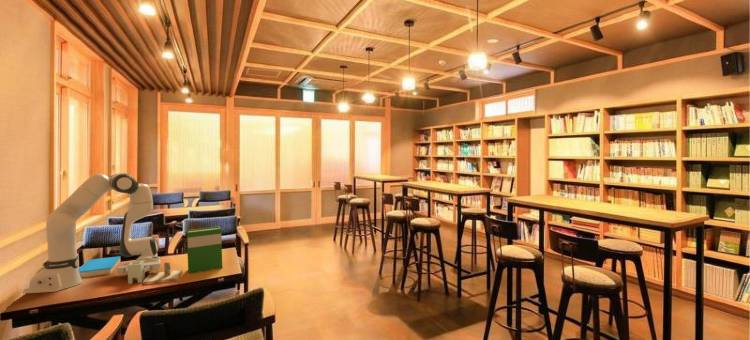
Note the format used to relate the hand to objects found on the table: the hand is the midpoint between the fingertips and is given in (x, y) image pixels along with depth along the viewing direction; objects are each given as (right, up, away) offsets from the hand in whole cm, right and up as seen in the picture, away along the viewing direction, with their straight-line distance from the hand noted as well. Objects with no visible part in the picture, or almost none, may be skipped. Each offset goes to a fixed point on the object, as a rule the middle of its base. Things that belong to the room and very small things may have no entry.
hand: (135, 271), depth 182 cm
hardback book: (+27, -5, +20) cm, 34 cm away
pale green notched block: (0, -5, +1) cm, 6 cm away
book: (-37, -5, +21) cm, 42 cm away
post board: (+11, -5, +6) cm, 14 cm away
